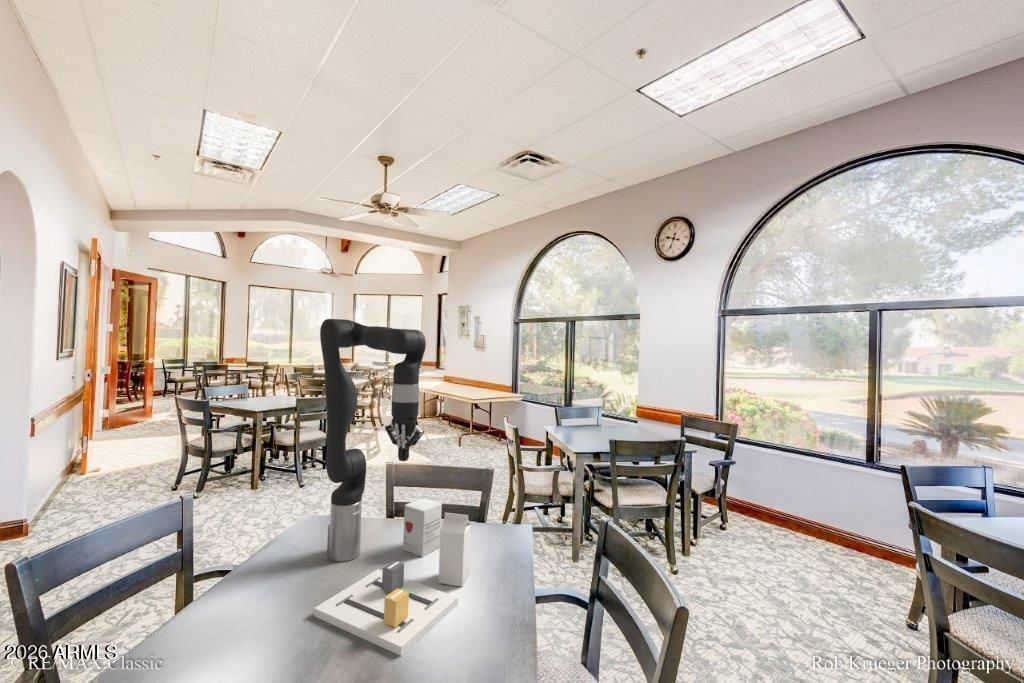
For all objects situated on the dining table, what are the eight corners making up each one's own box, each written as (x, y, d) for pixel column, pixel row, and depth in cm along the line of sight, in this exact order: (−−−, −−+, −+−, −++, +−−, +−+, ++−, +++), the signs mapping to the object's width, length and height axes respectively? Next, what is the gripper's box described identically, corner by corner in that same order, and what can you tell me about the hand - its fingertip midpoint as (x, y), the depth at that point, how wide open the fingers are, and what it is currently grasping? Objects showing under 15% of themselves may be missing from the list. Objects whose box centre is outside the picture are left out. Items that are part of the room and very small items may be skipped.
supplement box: (401, 550, 146) (403, 504, 146) (420, 540, 154) (422, 496, 154) (422, 558, 142) (424, 510, 142) (441, 547, 149) (442, 502, 149)
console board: (313, 616, 110) (314, 606, 110) (378, 575, 130) (378, 568, 130) (401, 656, 98) (401, 645, 98) (457, 604, 117) (458, 596, 117)
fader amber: (383, 622, 105) (384, 596, 105) (396, 612, 109) (397, 587, 109) (395, 627, 103) (396, 601, 103) (408, 617, 107) (408, 591, 107)
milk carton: (462, 587, 126) (464, 520, 126) (438, 583, 127) (440, 517, 127) (469, 574, 133) (471, 510, 133) (447, 571, 134) (449, 508, 134)
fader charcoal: (381, 589, 119) (382, 566, 118) (393, 582, 123) (394, 559, 123) (391, 593, 117) (392, 570, 117) (403, 585, 121) (404, 563, 121)
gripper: (378, 398, 126) (376, 459, 126) (415, 403, 120) (413, 467, 120) (396, 396, 133) (394, 454, 133) (432, 400, 127) (430, 461, 127)
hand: (403, 460), depth 126 cm, fingers closed
